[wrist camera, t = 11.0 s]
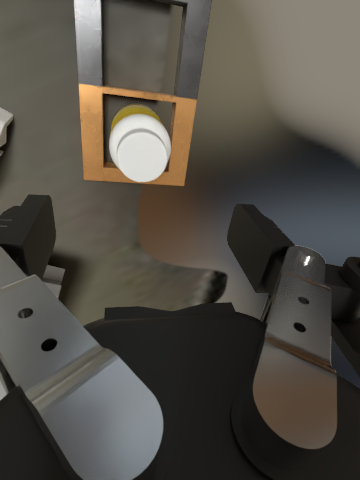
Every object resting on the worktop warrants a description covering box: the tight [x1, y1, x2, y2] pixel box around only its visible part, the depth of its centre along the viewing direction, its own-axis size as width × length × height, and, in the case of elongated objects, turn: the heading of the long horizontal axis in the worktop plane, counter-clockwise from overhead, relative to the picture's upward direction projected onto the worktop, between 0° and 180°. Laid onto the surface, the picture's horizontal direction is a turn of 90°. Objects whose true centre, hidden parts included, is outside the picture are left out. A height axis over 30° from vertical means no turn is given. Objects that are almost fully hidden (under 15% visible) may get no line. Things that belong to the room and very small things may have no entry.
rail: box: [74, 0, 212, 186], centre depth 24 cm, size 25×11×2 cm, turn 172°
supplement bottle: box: [109, 104, 171, 182], centre depth 25 cm, size 5×5×10 cm
